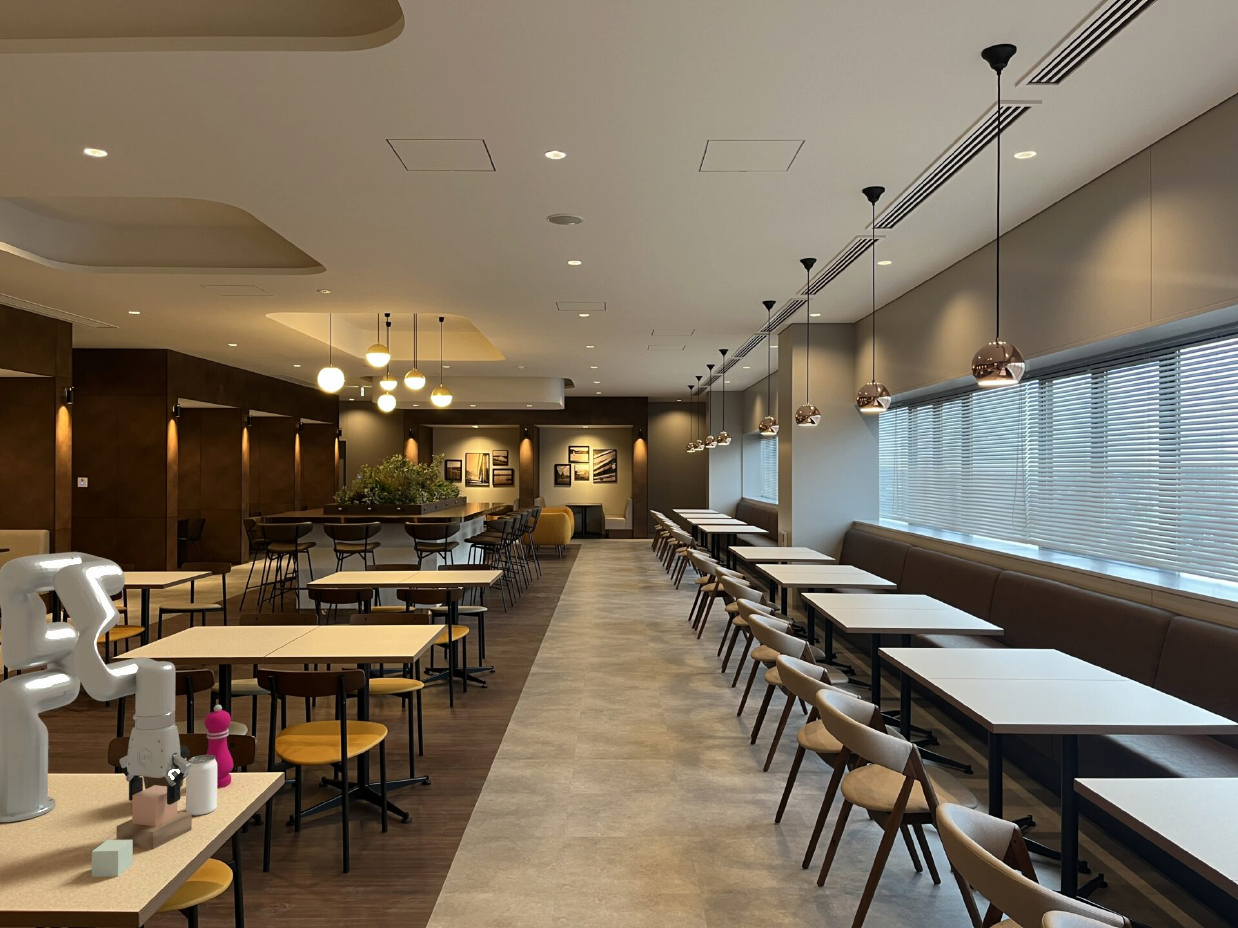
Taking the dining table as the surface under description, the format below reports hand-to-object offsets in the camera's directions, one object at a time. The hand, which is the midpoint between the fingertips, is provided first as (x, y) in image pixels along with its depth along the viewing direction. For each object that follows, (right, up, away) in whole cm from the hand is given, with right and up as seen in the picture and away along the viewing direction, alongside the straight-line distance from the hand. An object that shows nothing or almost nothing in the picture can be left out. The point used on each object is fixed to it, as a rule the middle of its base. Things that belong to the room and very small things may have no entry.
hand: (154, 800), depth 178 cm
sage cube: (+1, -8, -16) cm, 17 cm away
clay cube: (0, -4, 0) cm, 4 cm away
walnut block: (0, -8, 0) cm, 8 cm away
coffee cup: (-9, -8, +19) cm, 23 cm away
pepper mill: (-1, -8, +30) cm, 31 cm away
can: (+3, -8, +13) cm, 16 cm away
